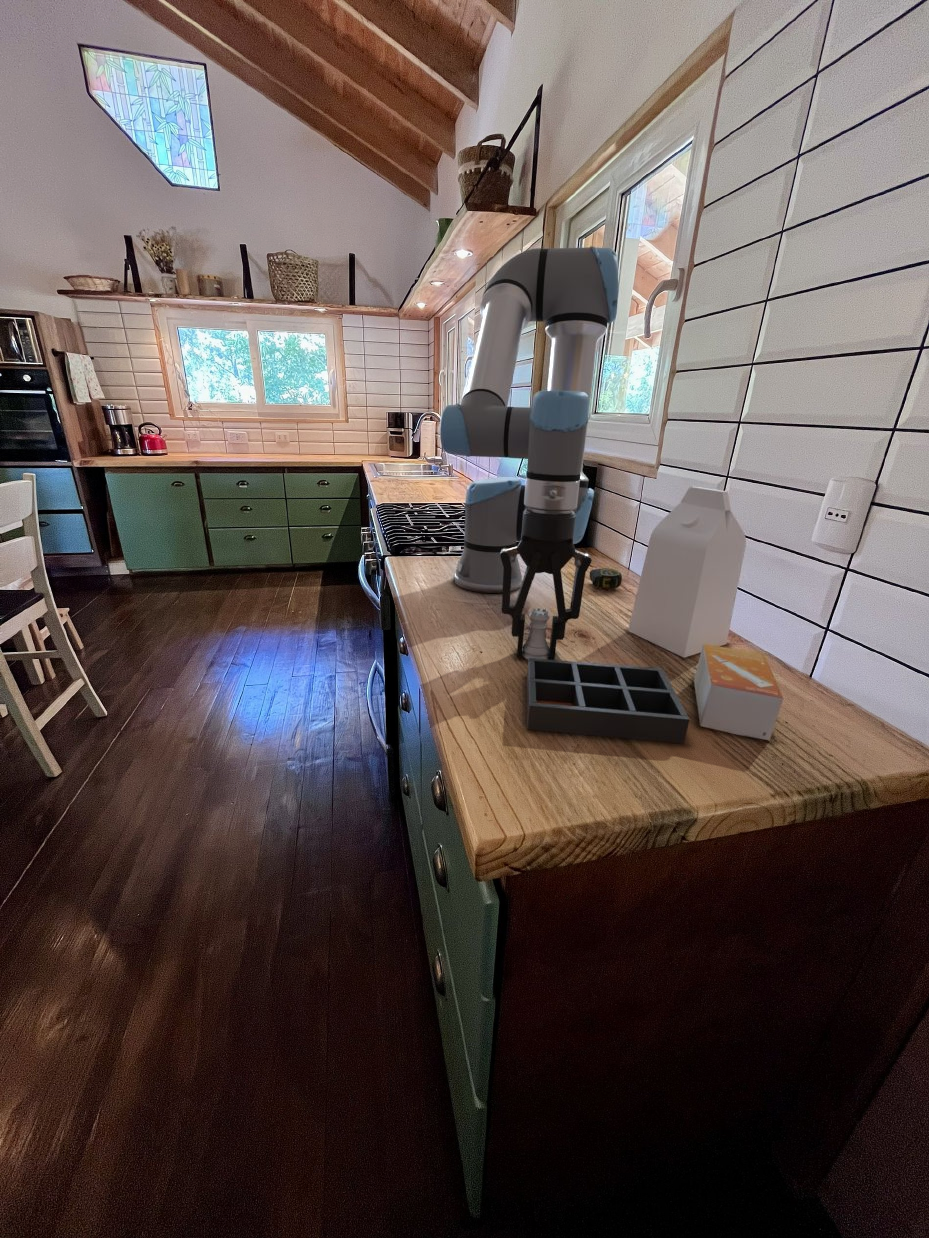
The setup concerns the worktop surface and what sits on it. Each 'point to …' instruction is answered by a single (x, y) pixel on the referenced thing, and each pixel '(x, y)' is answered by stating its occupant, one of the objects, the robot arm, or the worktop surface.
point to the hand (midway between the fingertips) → (535, 655)
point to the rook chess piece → (537, 636)
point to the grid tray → (604, 701)
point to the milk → (690, 575)
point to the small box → (736, 692)
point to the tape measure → (605, 578)
